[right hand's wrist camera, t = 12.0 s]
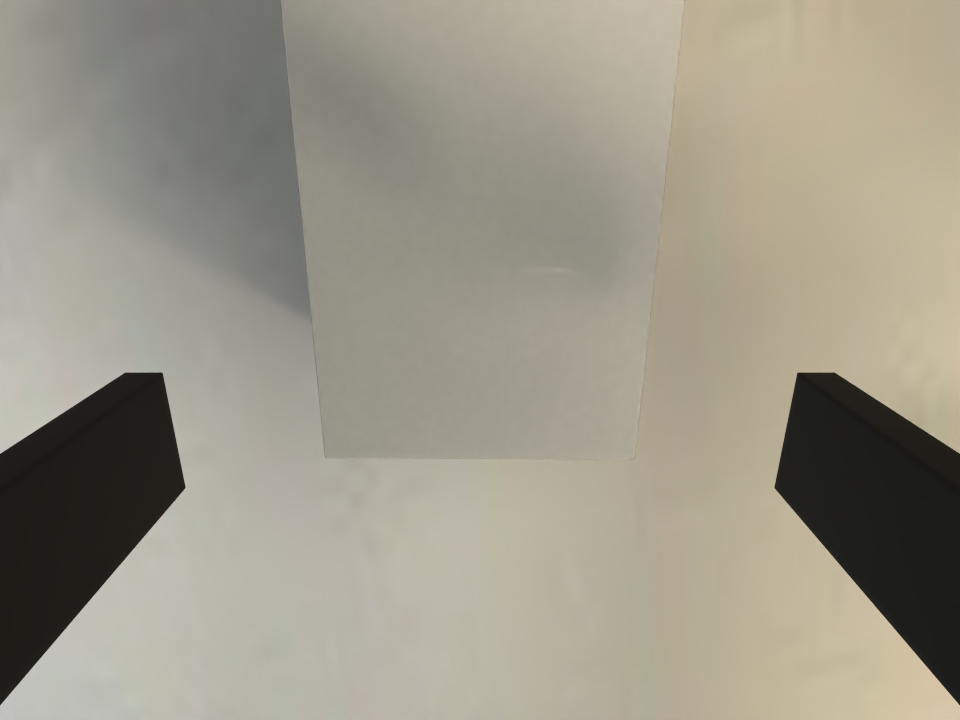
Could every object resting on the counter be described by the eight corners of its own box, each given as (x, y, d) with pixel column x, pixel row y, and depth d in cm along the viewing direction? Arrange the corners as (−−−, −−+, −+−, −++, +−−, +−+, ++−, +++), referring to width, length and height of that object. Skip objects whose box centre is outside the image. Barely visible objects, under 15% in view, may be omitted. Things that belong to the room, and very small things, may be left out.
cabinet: (343, -161, 23) (240, -390, 13) (621, -159, 23) (727, -386, 13) (374, 356, 30) (324, 459, 20) (585, 357, 30) (635, 460, 20)
